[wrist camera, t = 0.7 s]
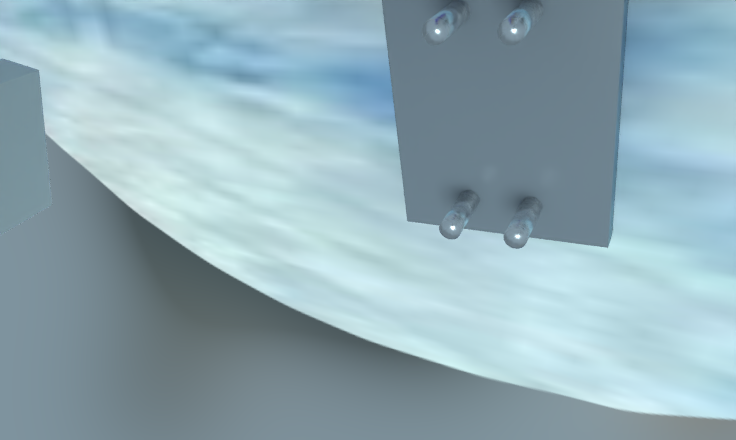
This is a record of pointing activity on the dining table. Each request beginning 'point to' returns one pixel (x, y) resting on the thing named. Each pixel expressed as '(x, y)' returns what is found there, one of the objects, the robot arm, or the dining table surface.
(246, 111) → the dining table surface
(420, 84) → the grey pegged plate
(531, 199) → the steel pins
